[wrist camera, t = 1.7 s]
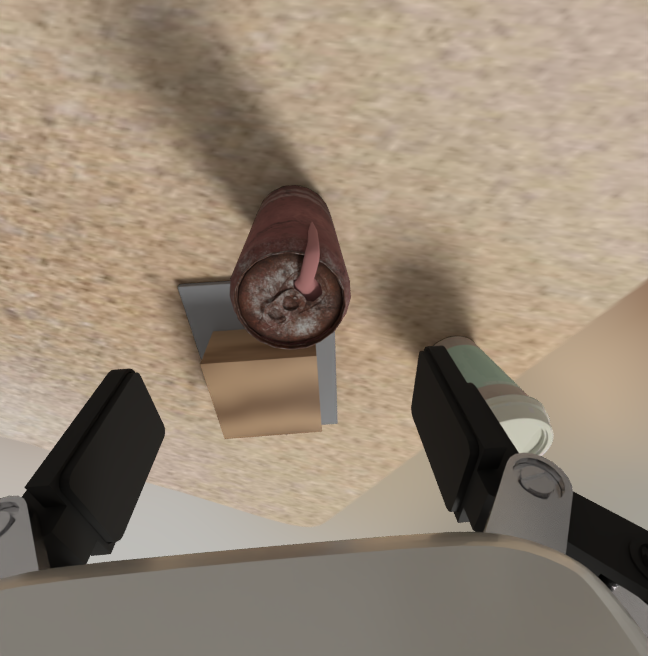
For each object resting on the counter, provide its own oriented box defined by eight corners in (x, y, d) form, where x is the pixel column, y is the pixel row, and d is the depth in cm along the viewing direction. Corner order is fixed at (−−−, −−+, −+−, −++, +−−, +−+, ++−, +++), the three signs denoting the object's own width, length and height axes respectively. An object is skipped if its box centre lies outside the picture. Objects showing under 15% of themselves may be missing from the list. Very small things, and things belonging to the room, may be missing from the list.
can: (339, 190, 26) (370, 254, 15) (321, 263, 30) (335, 363, 18) (263, 171, 25) (231, 225, 13) (253, 249, 28) (221, 346, 17)
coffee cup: (441, 395, 40) (487, 489, 30) (397, 359, 36) (433, 453, 26) (503, 353, 37) (578, 444, 27) (462, 310, 33) (531, 396, 23)
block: (212, 331, 32) (200, 364, 28) (314, 324, 32) (316, 356, 28) (233, 402, 38) (224, 439, 34) (319, 396, 38) (321, 431, 34)
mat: (179, 284, 30) (177, 287, 29) (332, 274, 30) (333, 276, 30) (225, 428, 41) (224, 432, 40) (337, 419, 41) (337, 423, 41)
